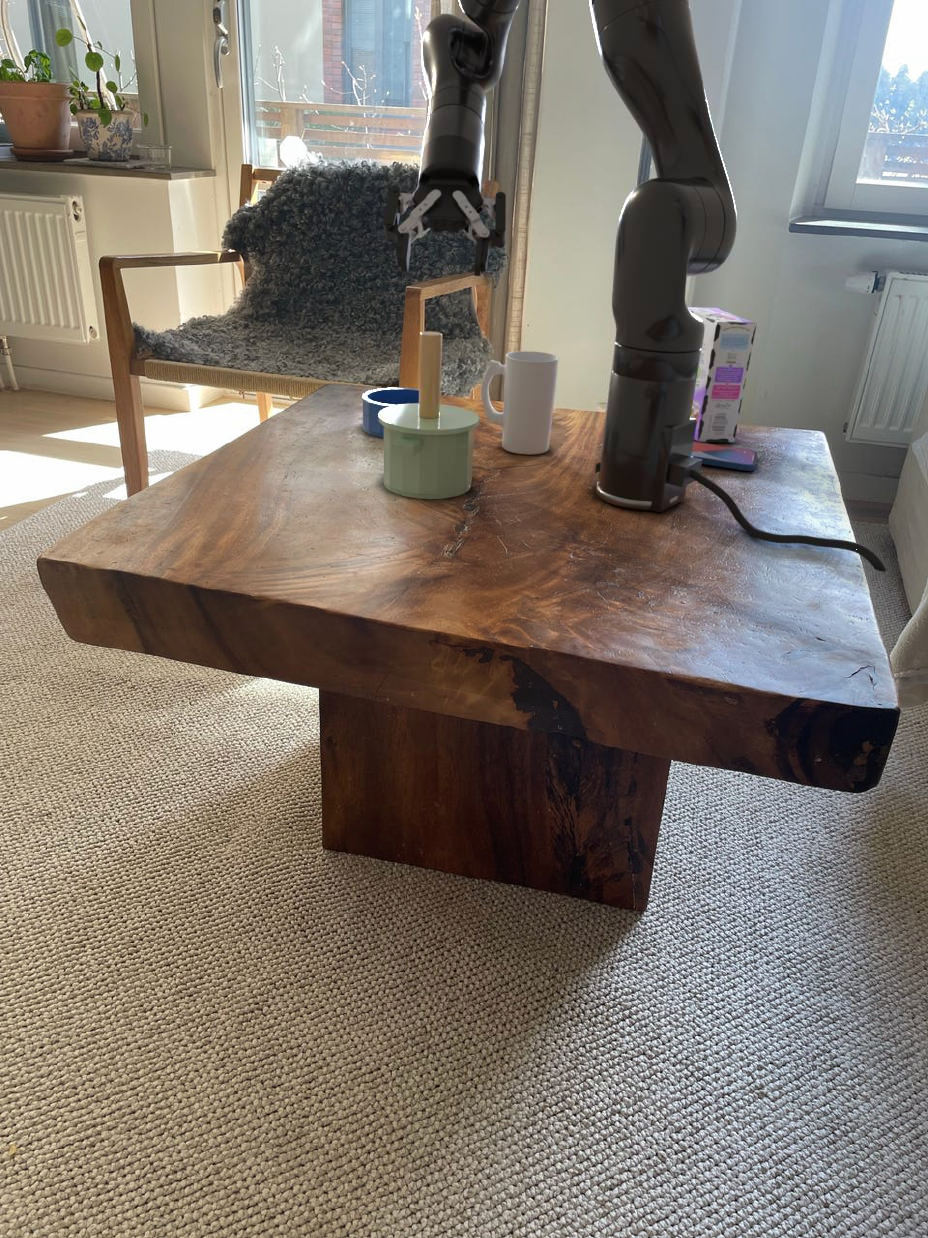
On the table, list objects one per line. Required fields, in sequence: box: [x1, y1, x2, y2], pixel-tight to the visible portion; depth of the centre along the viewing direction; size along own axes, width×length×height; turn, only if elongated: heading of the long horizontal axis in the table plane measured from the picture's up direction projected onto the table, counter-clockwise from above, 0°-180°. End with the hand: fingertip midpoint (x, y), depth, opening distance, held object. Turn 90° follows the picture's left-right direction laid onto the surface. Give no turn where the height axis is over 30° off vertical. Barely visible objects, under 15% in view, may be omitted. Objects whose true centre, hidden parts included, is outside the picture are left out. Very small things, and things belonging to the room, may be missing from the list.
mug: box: [480, 350, 560, 456], centre depth 116 cm, size 10×7×12 cm, turn 69°
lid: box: [379, 331, 480, 435], centre depth 98 cm, size 11×11×10 cm
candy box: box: [687, 306, 758, 443], centre depth 127 cm, size 14×6×16 cm, turn 8°
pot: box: [383, 426, 475, 500], centre depth 102 cm, size 10×16×8 cm, turn 161°
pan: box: [362, 387, 419, 439], centre depth 123 cm, size 10×10×4 cm
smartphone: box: [691, 441, 758, 472], centre depth 118 cm, size 7×15×1 cm, turn 71°
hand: (441, 269), depth 102 cm, fingers open, 8 cm apart
